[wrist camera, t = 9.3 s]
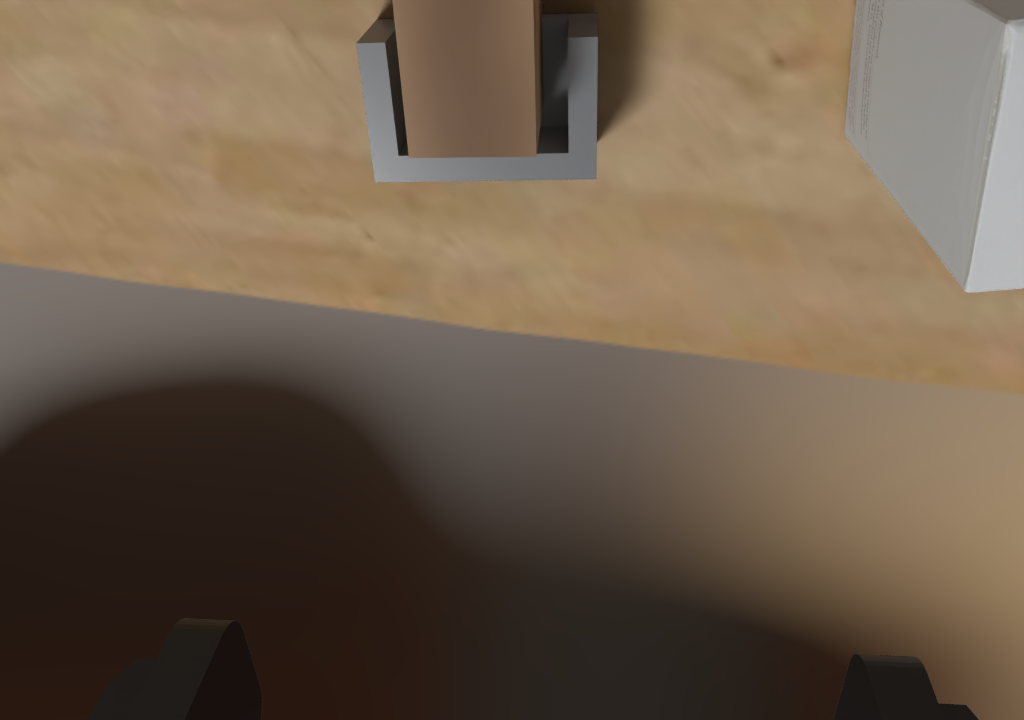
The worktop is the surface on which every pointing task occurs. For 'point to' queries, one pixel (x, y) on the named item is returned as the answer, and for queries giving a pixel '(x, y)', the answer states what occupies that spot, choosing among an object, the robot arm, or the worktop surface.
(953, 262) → the supplement box
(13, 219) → the worktop surface
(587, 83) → the endcap
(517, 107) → the brown wooden bar
